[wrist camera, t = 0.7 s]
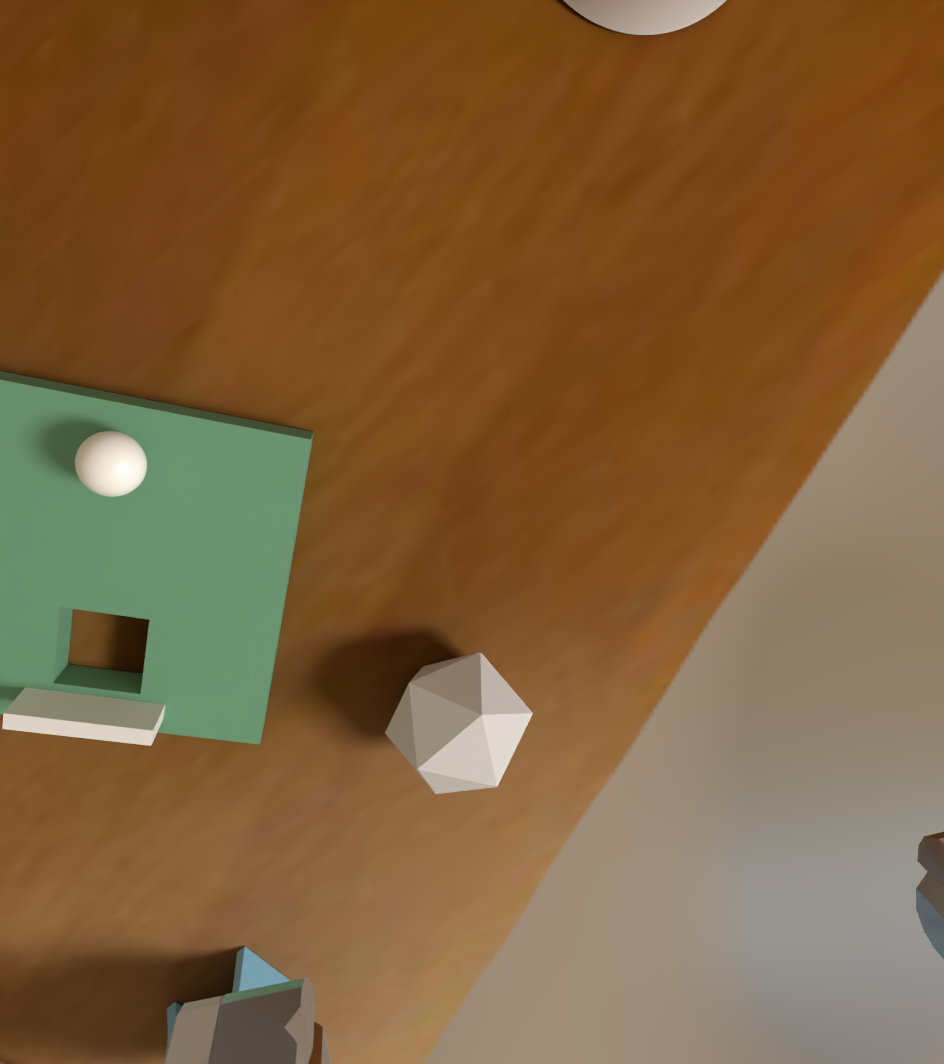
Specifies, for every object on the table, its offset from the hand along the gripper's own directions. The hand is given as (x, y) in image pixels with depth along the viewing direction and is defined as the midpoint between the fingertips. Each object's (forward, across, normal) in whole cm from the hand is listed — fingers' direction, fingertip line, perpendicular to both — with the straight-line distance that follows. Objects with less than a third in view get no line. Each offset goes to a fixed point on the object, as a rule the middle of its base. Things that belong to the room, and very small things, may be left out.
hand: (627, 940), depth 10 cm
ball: (+35, +17, -1) cm, 39 cm away
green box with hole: (+40, +19, +5) cm, 44 cm away
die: (+40, +1, +19) cm, 44 cm away
